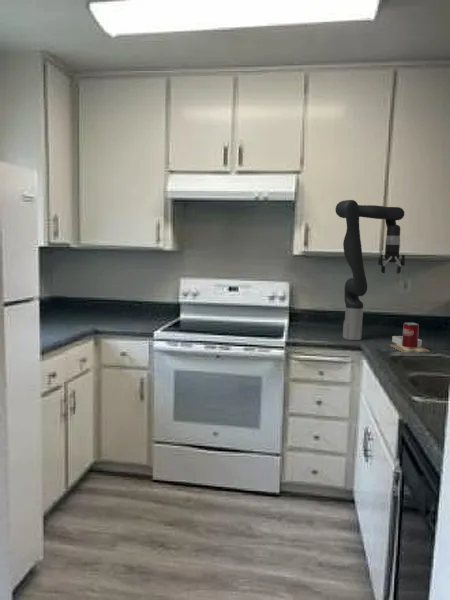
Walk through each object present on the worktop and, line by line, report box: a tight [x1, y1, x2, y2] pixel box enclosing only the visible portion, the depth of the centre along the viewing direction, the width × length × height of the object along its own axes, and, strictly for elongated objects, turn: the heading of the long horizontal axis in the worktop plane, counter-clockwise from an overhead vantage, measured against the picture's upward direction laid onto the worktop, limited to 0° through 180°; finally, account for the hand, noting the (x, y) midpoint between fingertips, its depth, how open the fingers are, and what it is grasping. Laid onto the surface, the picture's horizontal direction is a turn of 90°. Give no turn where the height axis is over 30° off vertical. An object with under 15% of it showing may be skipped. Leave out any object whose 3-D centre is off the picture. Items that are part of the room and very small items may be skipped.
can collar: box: [391, 335, 423, 347], centre depth 259 cm, size 11×11×3 cm
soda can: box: [402, 322, 420, 349], centre depth 245 cm, size 7×7×12 cm
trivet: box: [389, 343, 431, 353], centre depth 245 cm, size 14×14×1 cm
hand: (390, 273), depth 273 cm, fingers open, 8 cm apart
